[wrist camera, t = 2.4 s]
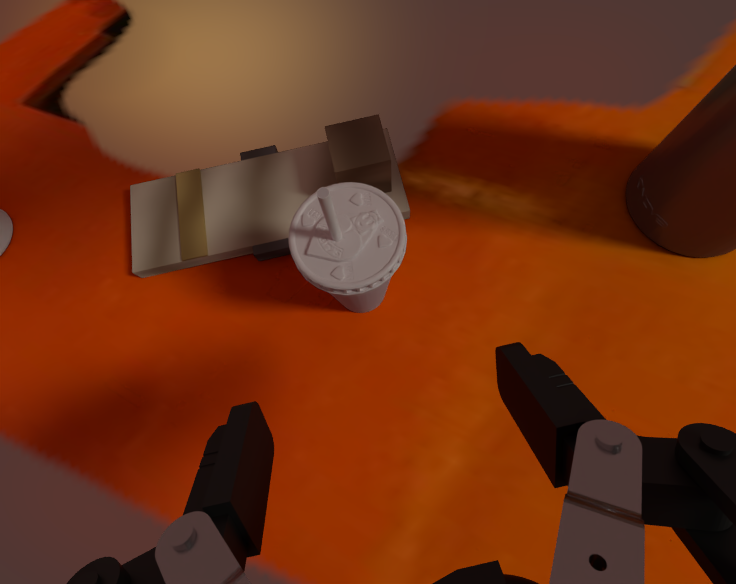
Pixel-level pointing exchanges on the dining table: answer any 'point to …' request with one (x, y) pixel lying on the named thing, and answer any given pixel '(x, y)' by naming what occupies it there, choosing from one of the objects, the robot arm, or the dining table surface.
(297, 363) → the dining table surface
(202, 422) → the dining table surface
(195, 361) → the dining table surface
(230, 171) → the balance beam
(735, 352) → the dining table surface
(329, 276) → the white drink cup
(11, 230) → the cosmetic bottle
